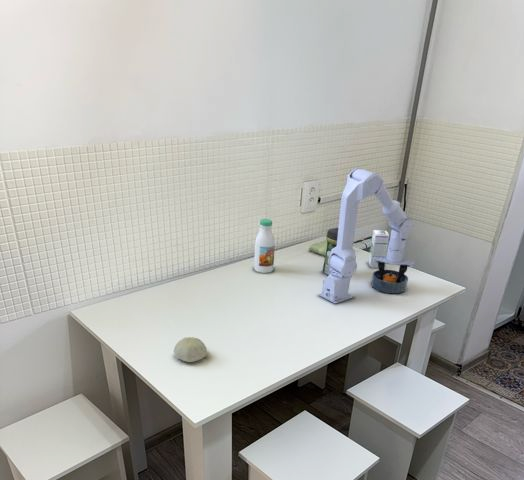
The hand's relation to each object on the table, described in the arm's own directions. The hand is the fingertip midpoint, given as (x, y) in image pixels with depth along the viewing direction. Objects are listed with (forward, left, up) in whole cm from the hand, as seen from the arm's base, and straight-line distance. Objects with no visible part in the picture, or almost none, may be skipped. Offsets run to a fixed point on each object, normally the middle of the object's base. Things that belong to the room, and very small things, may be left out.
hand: (389, 282), depth 187 cm
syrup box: (+13, +17, -2) cm, 21 cm away
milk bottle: (-30, +39, -2) cm, 49 cm away
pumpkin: (0, 0, -1) cm, 1 cm away
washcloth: (+9, +40, -2) cm, 41 cm away
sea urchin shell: (-88, +1, -2) cm, 88 cm away
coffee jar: (-8, +21, -2) cm, 23 cm away
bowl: (0, 0, -2) cm, 2 cm away
